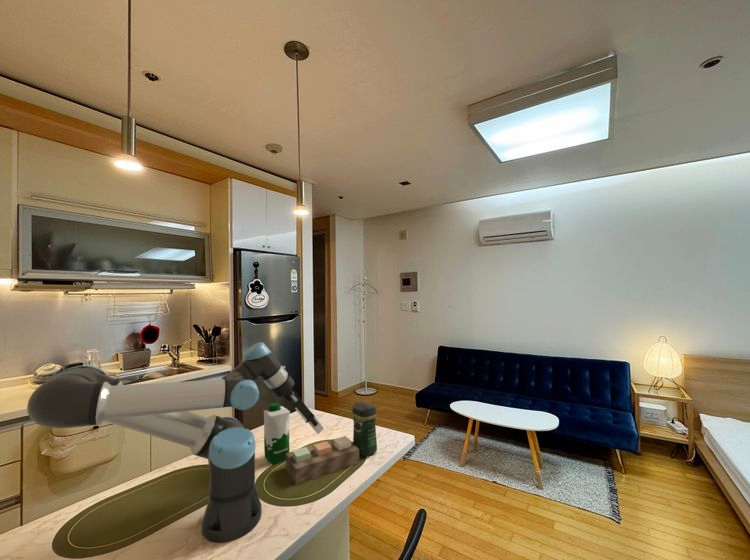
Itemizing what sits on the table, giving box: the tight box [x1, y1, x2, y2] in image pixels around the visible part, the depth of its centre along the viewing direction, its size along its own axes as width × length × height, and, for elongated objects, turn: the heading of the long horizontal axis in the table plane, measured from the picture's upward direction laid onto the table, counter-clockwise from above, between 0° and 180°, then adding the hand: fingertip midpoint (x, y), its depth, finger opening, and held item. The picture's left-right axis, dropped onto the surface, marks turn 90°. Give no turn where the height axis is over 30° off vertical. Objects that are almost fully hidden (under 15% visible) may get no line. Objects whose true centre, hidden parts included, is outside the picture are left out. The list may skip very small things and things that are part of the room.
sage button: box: [291, 446, 311, 463], centre depth 111 cm, size 5×5×4 cm
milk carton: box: [263, 402, 291, 466], centre depth 121 cm, size 9×9×20 cm
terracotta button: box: [313, 440, 332, 457], centre depth 116 cm, size 5×5×4 cm
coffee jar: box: [351, 401, 378, 457], centre depth 126 cm, size 10×8×19 cm
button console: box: [285, 439, 360, 485], centre depth 116 cm, size 24×12×5 cm, turn 121°
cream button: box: [333, 435, 352, 450], centre depth 120 cm, size 5×5×4 cm
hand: (313, 424), depth 115 cm, fingers open, 13 cm apart
